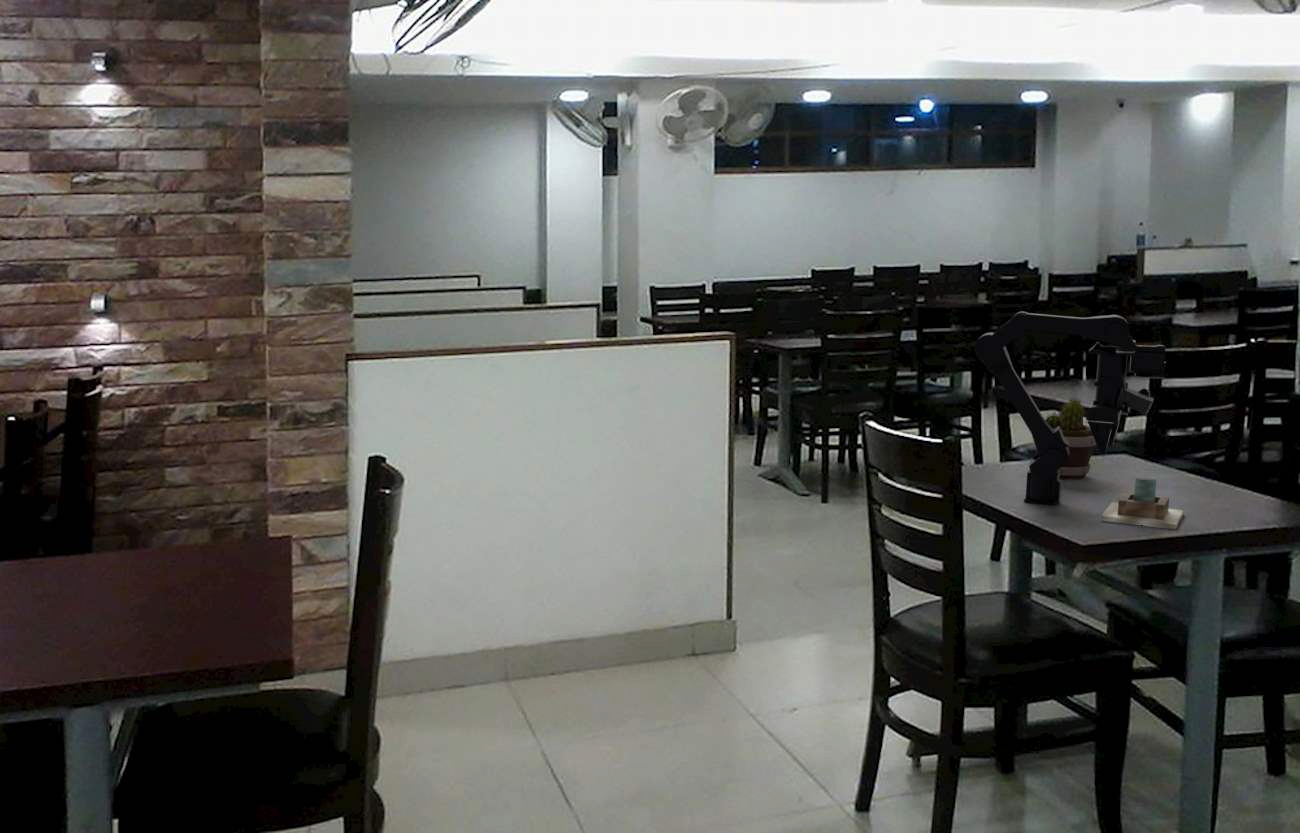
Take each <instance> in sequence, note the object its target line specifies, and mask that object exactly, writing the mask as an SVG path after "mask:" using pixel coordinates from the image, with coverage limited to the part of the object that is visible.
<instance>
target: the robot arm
mask: <svg viewBox="0 0 1300 833" xmlns="http://www.w3.org/2000/svg"><path fill="white" fill-rule="evenodd" d="M1023 332H1033V333H1034V332H1035V333H1047V334H1054V335H1055V334H1056V335H1057V334H1058V335H1067V336H1077V337H1084V338H1087V339H1090V340H1094V341H1095V342H1096V343H1095V344H1094V345H1093V346H1091V348H1089V350H1088V352H1089V354H1090V355H1097V366H1096V367H1097V368H1096V378H1095V379H1096V380H1094V383H1093V384H1094V387H1095V392H1094V393H1095V396H1094V400H1092V406H1091V407H1089V408H1088V409H1087V410H1086V412H1085V414H1086V415H1085V419H1086V421H1087V422H1086V423H1087V424H1088V427H1090V429H1091V431H1092V434H1093V436H1094V439H1095V442H1096V444H1097V445H1096V447H1097V449H1098V453H1100V454H1103V455H1105V454H1106V452H1107V449H1108V447H1109V448H1111V447H1112V446H1113V445H1114V443H1115V442H1114V441H1115V440H1116V439H1115V438H1116V434H1117V431H1118V428H1119V427H1120V426H1119V425H1120V422H1121V421H1123V420H1124V419H1125V418H1126V417H1127V416H1128V415H1129V413H1130V411H1131V410H1134V411H1136V412H1137V413H1139V414H1141V415H1143V416H1147V414H1148V413H1149V411H1150V409H1151V407H1152V405H1153V403H1154V401H1155V399H1154V397H1153V396H1151V391H1150V390H1149V389H1147V388H1145V387H1142V388H1141V389H1140V390H1138V391H1137V390H1135V389H1131V388H1129V382H1128V381H1127V380H1126V379H1127V368H1128V367H1127V365H1128V363H1127V362H1128V356H1130V361H1129V372H1130V373H1132V374H1134V377H1135V378H1146V379H1160V380H1161V379H1164V378H1165V376H1166V364H1167V362H1166V346H1165V345H1164V344H1156V345H1144V344H1141V345H1140V344H1139V345H1138V344H1137V341H1136V340H1135V339H1133V337H1132V336H1131V335H1130V332H1131V331H1130V326H1129V323H1128V321H1127V320H1126V319H1125V317H1123V316H1122V315H1118V314H1109V315H1097V316H1095V315H1094V316H1089V317H1088V316H1087V317H1080V316H1079V317H1077V316H1069V315H1068V316H1066V315H1054V314H1045V313H1033V312H1030V313H1029V312H1027V311H1024V310H1023V311H1022V310H1021V311H1019V312H1017V313H1015V314H1014V315H1013V316H1012V317H1011V318H1010V319H1009V320H1008V321H1006V322H1005V323H1004V324H1002V325H1001V326H999V327H998V328H997V329H996V330H995V331H994V332H986V333H984V334H982V335H980V336H979V338H978V339H977V341H976V342H975V344H974V353H975V355H976V356H977V358H978V359H979V360H980V362H981V363H982V364H983V365H984V366H985V367H986V368H987V369H988V370H989V371H990V372H991V373H992V374H993V376H995V377H996V379H998V381H999V383H1000V384H1001V386H1002V388H1003V390H1004V391H1005V393H1006V394H1007V396H1008V398H1009V399H1010V400H1011V402H1012V405H1013V406H1014V407H1015V409H1016V410H1017V412H1018V413H1019V415H1020V417H1021V419H1022V420H1023V422H1024V424H1025V425H1026V427H1027V428H1028V431H1029V432H1030V433H1031V436H1032V440H1033V442H1034V446H1035V448H1036V451H1037V453H1036V454H1035V455H1033V457H1031V458H1030V460H1029V465H1028V467H1029V470H1028V471H1027V473H1026V487H1025V488H1026V490H1025V497H1024V498H1023V502H1027V503H1028V502H1029V503H1035V504H1036V503H1037V504H1045V505H1052V506H1053V505H1056V504H1057V503H1058V502H1059V501H1060V500H1061V499H1062V487H1063V486H1062V485H1063V479H1060V473H1058V472H1057V470H1058V468H1061V467H1063V466H1064V465H1065V464H1066V463H1067V461H1068V457H1069V448H1068V447H1069V441H1068V440H1067V439H1066V438H1065V437H1064V436H1063V434H1062V431H1061V429H1060V426H1058V427H1057V428H1055V429H1053V428H1052V427H1051V426H1050V425H1049V424H1048V423H1047V422H1046V419H1045V416H1044V415H1043V414H1042V412H1041V410H1040V409H1039V407H1038V405H1037V404H1036V402H1035V401H1034V399H1033V397H1032V396H1031V395H1030V392H1029V391H1028V390H1027V388H1026V386H1025V384H1024V383H1023V381H1022V379H1021V378H1020V376H1019V375H1018V374H1017V372H1016V370H1015V369H1014V367H1013V363H1012V360H1011V358H1010V354H1009V352H1008V350H1007V347H1006V346H1007V345H1009V344H1010V343H1011V342H1013V341H1014V340H1015V339H1016V338H1017V337H1018V336H1019V335H1021V334H1022V333H1023ZM1100 342H1101V343H1105V344H1109V345H1102V344H1101V343H1100ZM1110 345H1111V346H1110ZM1112 345H1113V346H1112ZM1115 345H1118V346H1120V347H1121V348H1122V349H1124V350H1125V351H1121V350H1117V346H1115ZM1122 411H1124V412H1122Z"/></svg>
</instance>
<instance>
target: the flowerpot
mask: <svg viewBox="0 0 1300 833" xmlns="http://www.w3.org/2000/svg"><path fill="white" fill-rule="evenodd" d="M1076 396H1077V394H1075V395H1074V397H1073V396H1072V395H1071V396H1070V398H1069V401H1066V402H1064V403H1063V402H1062V403H1061V404H1062V405H1061V406H1060V409H1059V413H1057V410H1055V411H1053V412H1051V413H1048V415H1047V416H1044V419H1045V418H1046V419H1045V420H1046V422H1047V423H1048V424H1049V425H1050V426H1051V427H1052V428H1053V429H1055V428H1057V427H1058V426H1060V429H1061V431H1062V434H1063V436H1064V437H1065V438H1066V439H1067V440H1068V441H1069V447H1068V448H1069V457H1068V461H1067V463H1066V464H1065V465H1064V466H1063V467H1061V468H1058V470H1057V472H1058V473H1060V479H1059V480H1072V481H1075V480H1083V479H1084V478H1086V476H1087V474H1089V472H1090V470H1091V466H1092V465H1091V464H1090V461H1091V460H1090V459H1091V457H1092V454H1093V450H1094V447H1095V446H1097V444H1096V442H1095V439H1094V436H1093V434H1092V431H1091V429H1090V426H1089V425H1085V423H1086V422H1085V420H1086V412H1087V410H1086V409H1087V408H1086V407H1085V405H1084V404H1083V402H1082V399H1081V397H1080V398H1079V397H1076ZM1080 399H1081V400H1080ZM1081 403H1082V404H1081ZM1086 421H1087V420H1086Z"/></svg>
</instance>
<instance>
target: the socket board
mask: <svg viewBox="0 0 1300 833" xmlns="http://www.w3.org/2000/svg"><path fill="white" fill-rule="evenodd" d="M1169 505H1170V496H1166V495H1165V496H1162V495H1155V503H1153V502H1144V501H1135V500H1134V493H1133V492H1128V491H1127V492H1126V491H1125V492H1124V493H1123V494H1122V495H1121V497H1120V498H1119V499H1118V502H1115V501H1114V502H1113V501H1112V502H1111V503H1110V504H1109V506H1107V508H1106V509H1105V511H1104V512H1103V514H1102V515H1101V519H1100V520H1101V521H1102V522H1108V523H1117V524H1125V525H1135V526H1141V525H1143V526H1142V527H1150V528H1152V527H1153V528H1160V529H1166V530H1167V529H1168V530H1177V528H1178V526H1179V524H1180V523H1181V520H1182V518H1183V517H1184V512H1185V511H1184V509H1175V508H1170V507H1169Z"/></svg>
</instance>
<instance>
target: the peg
mask: <svg viewBox="0 0 1300 833" xmlns="http://www.w3.org/2000/svg"><path fill="white" fill-rule="evenodd" d="M1134 481H1135V482H1134V490H1133V492H1134V500H1135V501H1144V502H1153V503H1155V496H1156V490H1157V481H1158V480H1157V479H1156V478H1153V477H1145V476H1137V477H1135V480H1134Z"/></svg>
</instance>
